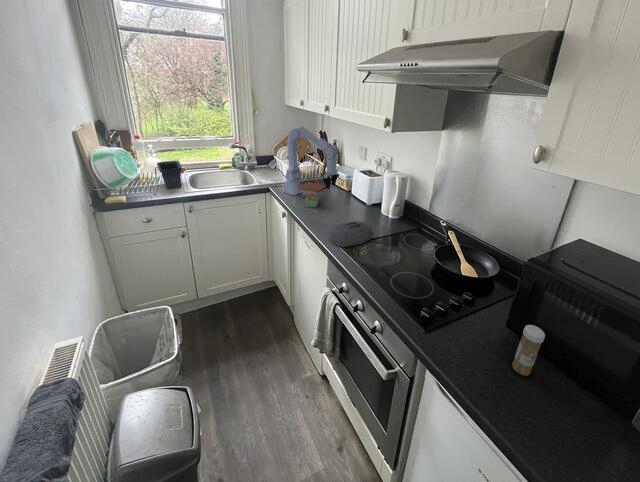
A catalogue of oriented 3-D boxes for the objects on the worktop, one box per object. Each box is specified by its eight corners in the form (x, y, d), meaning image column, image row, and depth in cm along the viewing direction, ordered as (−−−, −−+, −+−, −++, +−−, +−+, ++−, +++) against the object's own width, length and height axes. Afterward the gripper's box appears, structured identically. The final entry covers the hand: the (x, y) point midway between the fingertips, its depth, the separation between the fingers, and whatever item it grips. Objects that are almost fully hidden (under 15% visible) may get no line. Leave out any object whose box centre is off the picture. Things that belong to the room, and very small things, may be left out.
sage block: (305, 206, 180) (305, 200, 178) (307, 202, 186) (307, 196, 185) (316, 207, 179) (316, 201, 178) (318, 203, 186) (318, 197, 184)
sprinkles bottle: (523, 378, 78) (537, 339, 73) (507, 364, 82) (520, 326, 77) (534, 372, 80) (549, 334, 75) (519, 359, 84) (532, 322, 79)
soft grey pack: (358, 229, 154) (324, 238, 144) (359, 214, 151) (324, 222, 141) (376, 242, 143) (340, 252, 132) (377, 226, 140) (341, 235, 129)
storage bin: (186, 188, 198) (183, 167, 193) (159, 191, 190) (155, 170, 185) (181, 179, 214) (178, 160, 209) (156, 182, 206) (152, 162, 201)
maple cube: (308, 199, 180) (308, 193, 178) (309, 197, 183) (309, 191, 182) (314, 200, 179) (314, 193, 178) (315, 197, 183) (315, 191, 182)
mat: (298, 187, 212) (298, 186, 212) (308, 182, 224) (308, 181, 224) (317, 191, 206) (317, 191, 206) (327, 186, 218) (327, 185, 218)
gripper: (331, 168, 173) (330, 190, 178) (342, 164, 186) (341, 184, 190) (321, 167, 176) (320, 188, 181) (332, 162, 188) (331, 182, 193)
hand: (330, 186), depth 186 cm, fingers open, 7 cm apart
